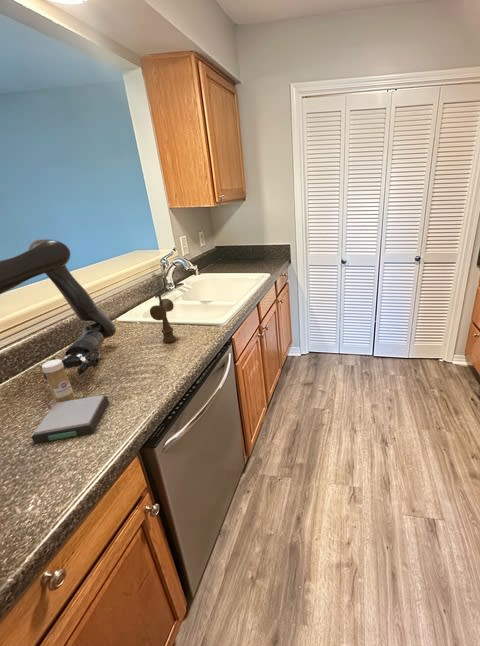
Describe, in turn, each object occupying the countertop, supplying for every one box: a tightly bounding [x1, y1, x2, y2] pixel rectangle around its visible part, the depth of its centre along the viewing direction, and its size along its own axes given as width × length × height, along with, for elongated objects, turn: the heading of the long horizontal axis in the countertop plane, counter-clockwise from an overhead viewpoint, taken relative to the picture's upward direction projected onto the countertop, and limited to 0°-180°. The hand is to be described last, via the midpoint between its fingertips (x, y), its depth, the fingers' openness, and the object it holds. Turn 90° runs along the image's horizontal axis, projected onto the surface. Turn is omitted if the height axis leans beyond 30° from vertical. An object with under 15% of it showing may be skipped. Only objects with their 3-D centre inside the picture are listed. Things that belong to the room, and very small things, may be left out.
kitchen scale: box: [31, 394, 110, 445], centre depth 85 cm, size 13×13×3 cm
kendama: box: [149, 292, 177, 343], centre depth 125 cm, size 6×10×20 cm, turn 1°
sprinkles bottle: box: [41, 358, 77, 403], centre depth 90 cm, size 5×5×14 cm
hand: (63, 374), depth 93 cm, fingers open, 8 cm apart
